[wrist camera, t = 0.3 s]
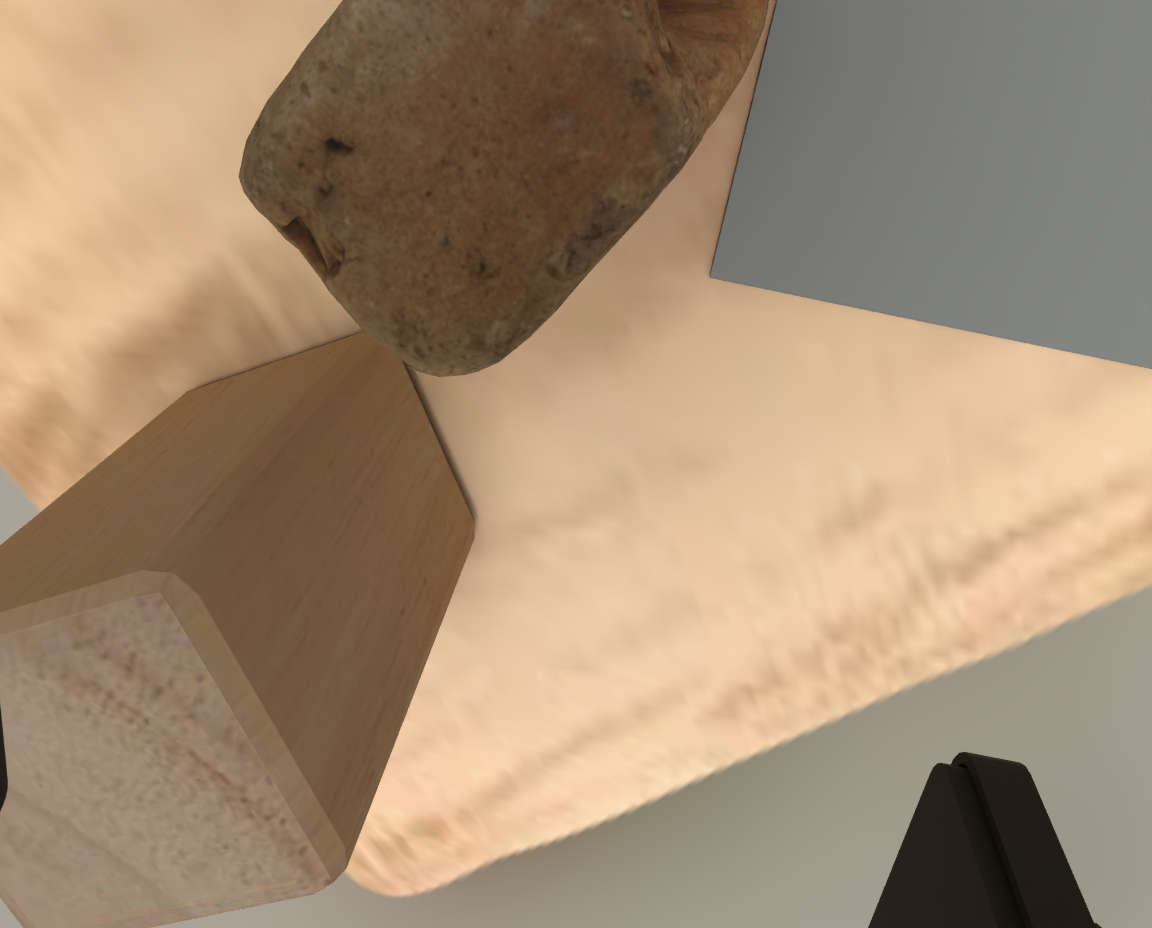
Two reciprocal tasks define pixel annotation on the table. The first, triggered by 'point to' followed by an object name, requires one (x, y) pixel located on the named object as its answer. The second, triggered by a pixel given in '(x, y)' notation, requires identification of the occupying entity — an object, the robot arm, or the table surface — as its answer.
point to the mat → (955, 167)
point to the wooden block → (222, 644)
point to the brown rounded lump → (484, 154)
